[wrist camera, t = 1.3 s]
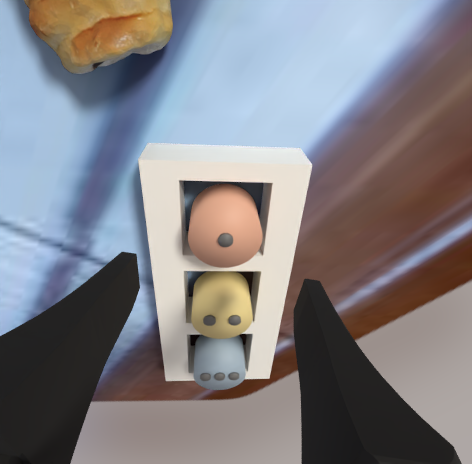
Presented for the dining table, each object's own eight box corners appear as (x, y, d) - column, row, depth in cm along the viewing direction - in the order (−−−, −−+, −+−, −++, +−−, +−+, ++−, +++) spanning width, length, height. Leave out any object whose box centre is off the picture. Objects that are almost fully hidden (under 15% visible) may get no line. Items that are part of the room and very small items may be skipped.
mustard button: (246, 308, 26) (250, 340, 23) (194, 308, 26) (191, 341, 23) (251, 268, 23) (255, 299, 21) (192, 268, 23) (190, 299, 20)
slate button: (241, 358, 30) (244, 391, 27) (195, 359, 29) (193, 392, 27) (244, 329, 27) (247, 361, 25) (194, 329, 27) (192, 362, 24)
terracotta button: (253, 240, 22) (259, 269, 19) (191, 240, 22) (188, 269, 19) (259, 184, 20) (266, 209, 17) (190, 182, 19) (186, 207, 17)
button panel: (264, 351, 33) (269, 378, 30) (169, 353, 32) (165, 381, 29) (300, 148, 21) (312, 164, 18) (147, 142, 20) (138, 159, 17)
